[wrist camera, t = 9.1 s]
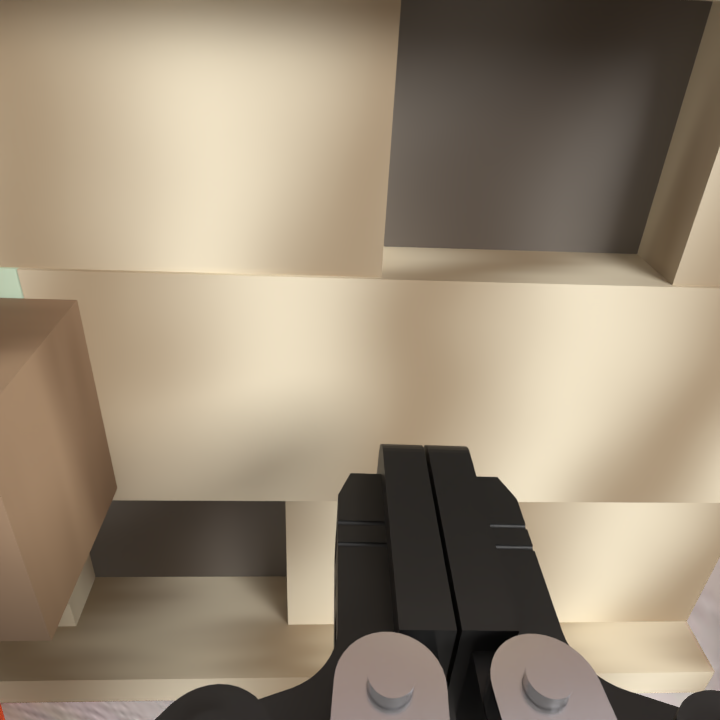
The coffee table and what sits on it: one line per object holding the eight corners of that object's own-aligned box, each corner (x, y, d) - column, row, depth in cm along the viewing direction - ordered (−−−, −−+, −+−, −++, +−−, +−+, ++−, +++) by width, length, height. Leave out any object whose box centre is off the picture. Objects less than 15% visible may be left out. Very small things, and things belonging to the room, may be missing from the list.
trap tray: (934, -51, 11) (1150, -62, 8) (649, 590, 21) (702, 692, 18) (-403, -134, 10) (-718, -185, 7) (-60, 593, 19) (-131, 704, 16)
